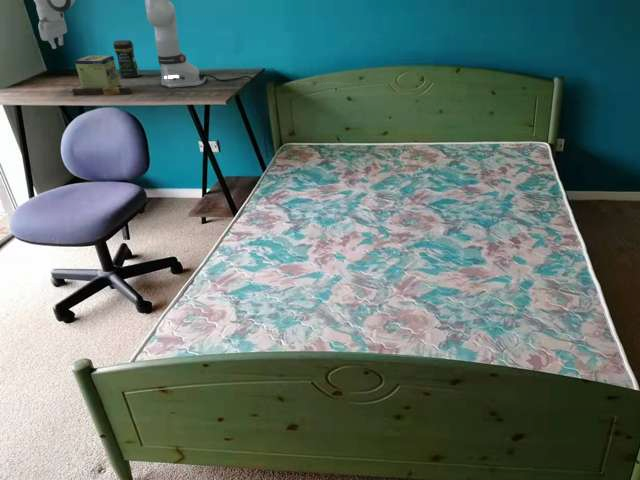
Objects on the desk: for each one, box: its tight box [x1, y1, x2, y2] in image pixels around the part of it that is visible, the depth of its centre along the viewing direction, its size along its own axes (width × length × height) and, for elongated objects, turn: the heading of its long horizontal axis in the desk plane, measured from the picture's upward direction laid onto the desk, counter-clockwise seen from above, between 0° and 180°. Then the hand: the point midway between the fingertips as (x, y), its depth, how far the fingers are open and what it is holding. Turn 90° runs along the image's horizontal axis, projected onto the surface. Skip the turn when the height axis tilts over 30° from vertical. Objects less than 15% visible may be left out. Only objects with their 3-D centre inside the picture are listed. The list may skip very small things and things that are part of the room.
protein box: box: [74, 55, 122, 88], centre depth 298 cm, size 10×16×16 cm
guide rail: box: [72, 86, 132, 96], centre depth 295 cm, size 28×2×3 cm, turn 89°
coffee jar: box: [113, 39, 141, 79], centre depth 318 cm, size 10×8×19 cm
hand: (58, 46), depth 290 cm, fingers open, 6 cm apart
